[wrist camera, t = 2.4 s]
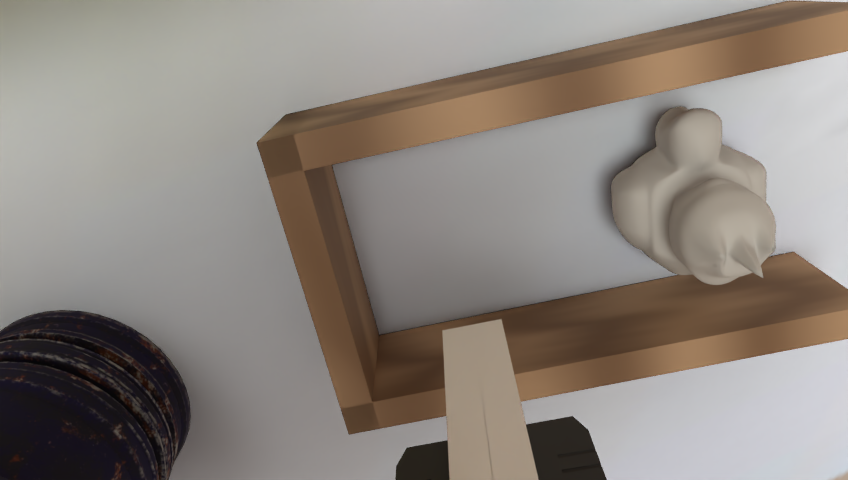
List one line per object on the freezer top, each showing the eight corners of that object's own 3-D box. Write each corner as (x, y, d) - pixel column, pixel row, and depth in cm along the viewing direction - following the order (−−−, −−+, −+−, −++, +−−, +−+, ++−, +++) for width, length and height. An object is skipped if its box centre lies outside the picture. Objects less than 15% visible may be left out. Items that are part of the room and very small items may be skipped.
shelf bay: (359, 363, 29) (348, 434, 25) (285, 114, 25) (256, 143, 21) (794, 277, 28) (869, 334, 23) (788, 0, 24) (878, 3, 19)
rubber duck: (604, 260, 28) (673, 361, 20) (591, 106, 25) (664, 155, 18) (733, 239, 28) (852, 332, 20) (732, 81, 25) (866, 120, 18)
